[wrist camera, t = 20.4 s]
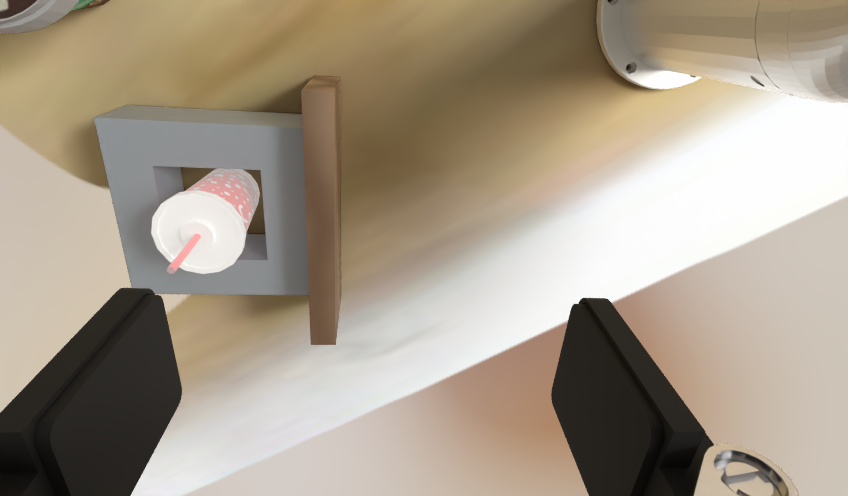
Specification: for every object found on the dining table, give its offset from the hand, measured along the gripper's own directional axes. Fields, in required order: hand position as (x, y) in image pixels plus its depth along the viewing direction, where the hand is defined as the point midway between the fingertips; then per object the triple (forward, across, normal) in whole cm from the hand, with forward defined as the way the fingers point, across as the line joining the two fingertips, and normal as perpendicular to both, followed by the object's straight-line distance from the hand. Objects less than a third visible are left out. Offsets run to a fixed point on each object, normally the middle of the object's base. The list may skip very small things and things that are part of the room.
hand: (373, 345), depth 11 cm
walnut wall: (+31, +5, +8) cm, 33 cm away
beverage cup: (+31, +13, +8) cm, 35 cm away
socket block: (+31, +13, +8) cm, 34 cm away
